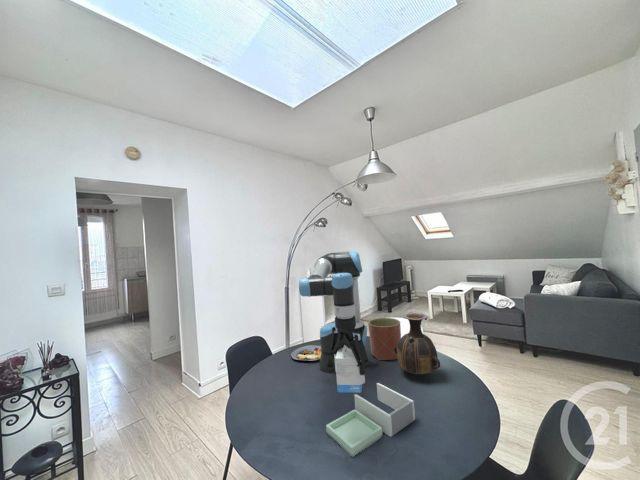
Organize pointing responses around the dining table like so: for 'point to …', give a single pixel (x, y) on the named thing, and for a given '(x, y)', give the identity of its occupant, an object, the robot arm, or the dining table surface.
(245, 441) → the dining table surface
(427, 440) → the dining table surface
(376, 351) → the planter
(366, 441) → the tray
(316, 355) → the food plate
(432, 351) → the vase
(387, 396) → the dock
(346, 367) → the ink box
